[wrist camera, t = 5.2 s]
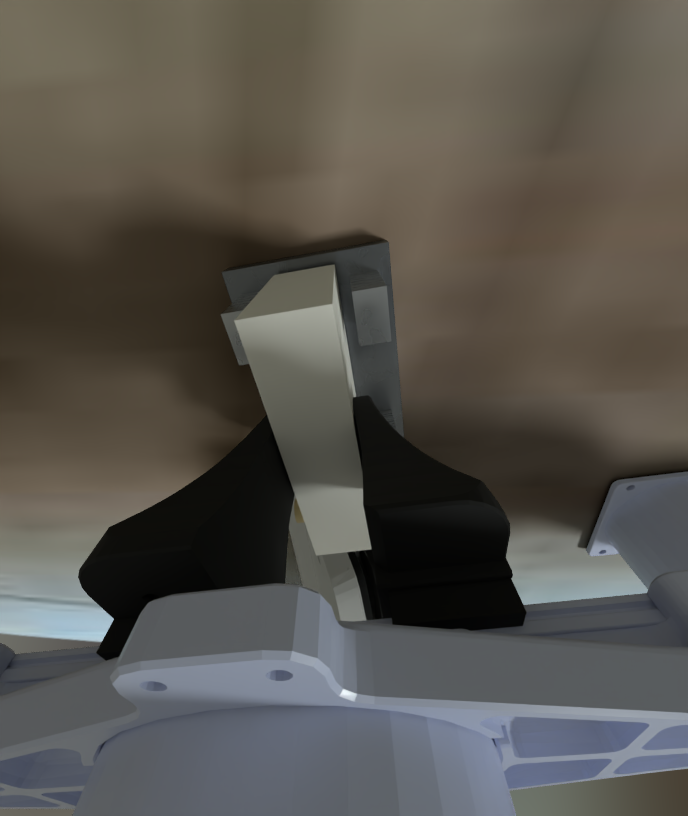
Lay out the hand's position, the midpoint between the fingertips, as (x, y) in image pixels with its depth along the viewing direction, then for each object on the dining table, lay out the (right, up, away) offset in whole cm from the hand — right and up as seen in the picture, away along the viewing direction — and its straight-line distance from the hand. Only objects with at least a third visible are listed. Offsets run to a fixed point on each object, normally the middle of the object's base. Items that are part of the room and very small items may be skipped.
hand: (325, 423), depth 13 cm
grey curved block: (+1, -10, +13) cm, 16 cm away
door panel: (0, +2, +3) cm, 4 cm away
